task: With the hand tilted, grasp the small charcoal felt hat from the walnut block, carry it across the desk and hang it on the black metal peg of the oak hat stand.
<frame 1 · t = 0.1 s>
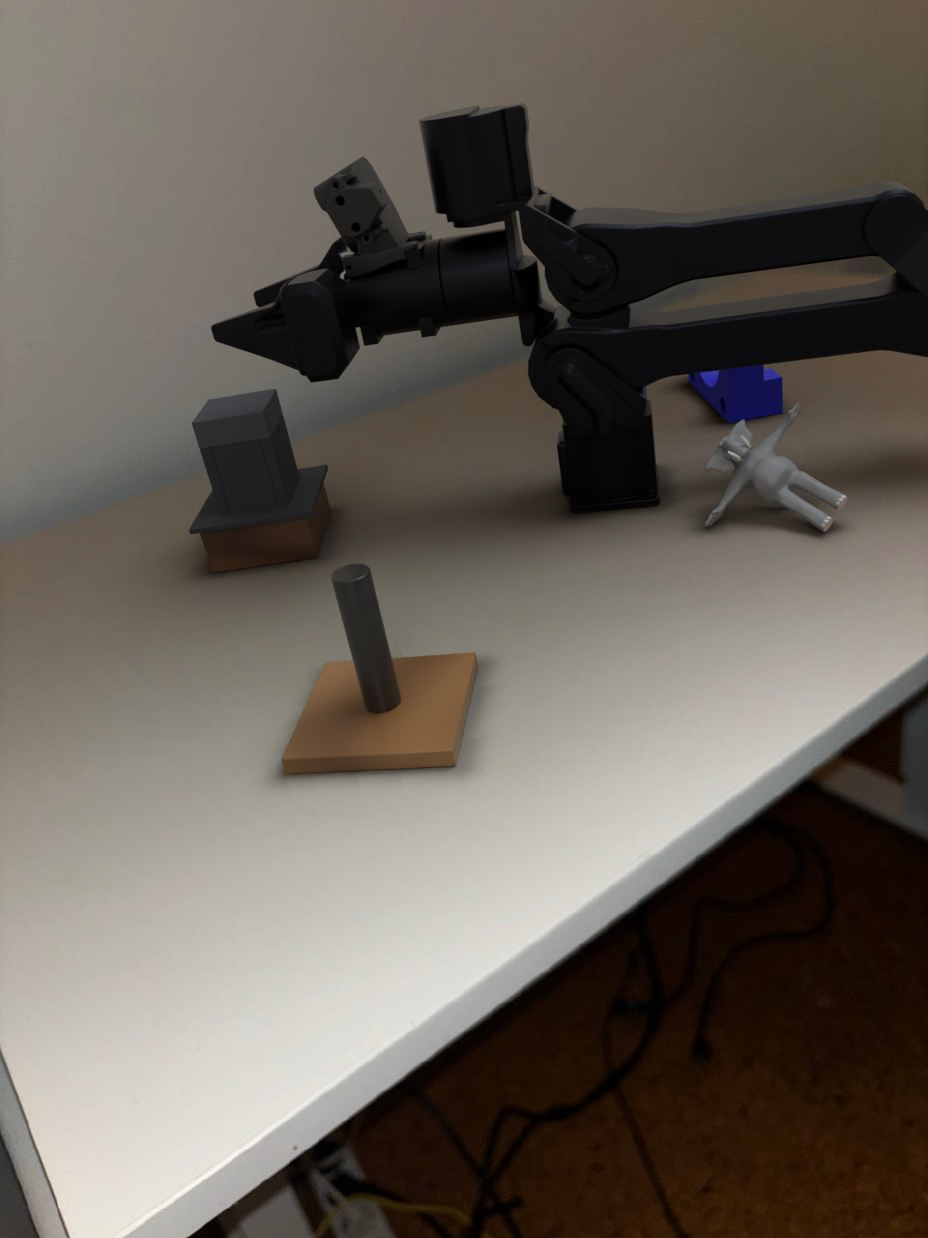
hand: (235, 314, 73), 17 cm above the table, tool horizontal, fingers open, 9 cm apart
elephant figurine: (779, 515, 69), on the table
hat: (262, 500, 77), point 3 cm above the table, touching hat block
hat block: (274, 541, 79), on the table
hat stand: (387, 717, 56), on the table
blue cradle bracket: (733, 398, 90), on the table
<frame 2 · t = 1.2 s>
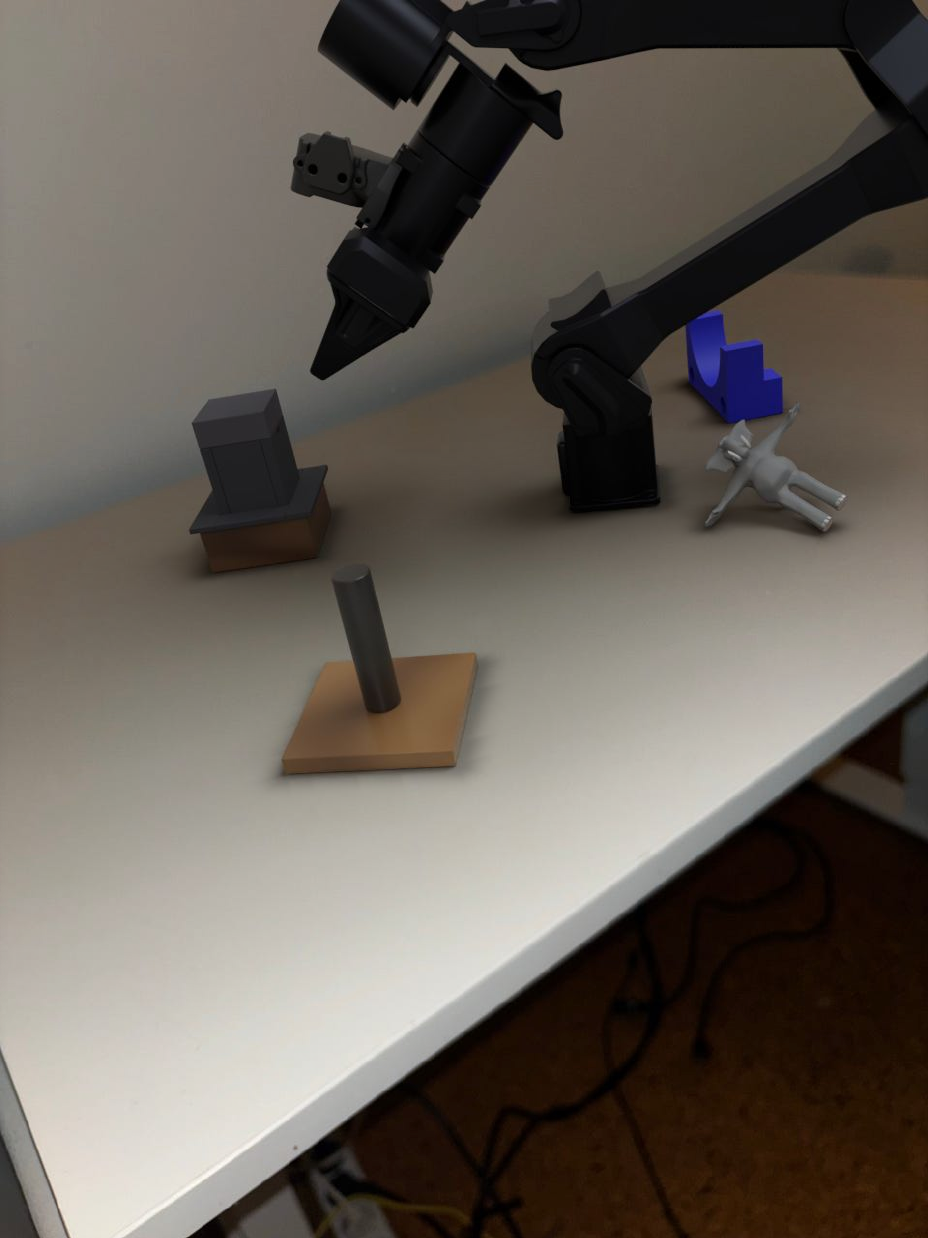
hand: (325, 356, 72), 13 cm above the table, tool tilted 45°, fingers open, 9 cm apart
nothing on the table moved.
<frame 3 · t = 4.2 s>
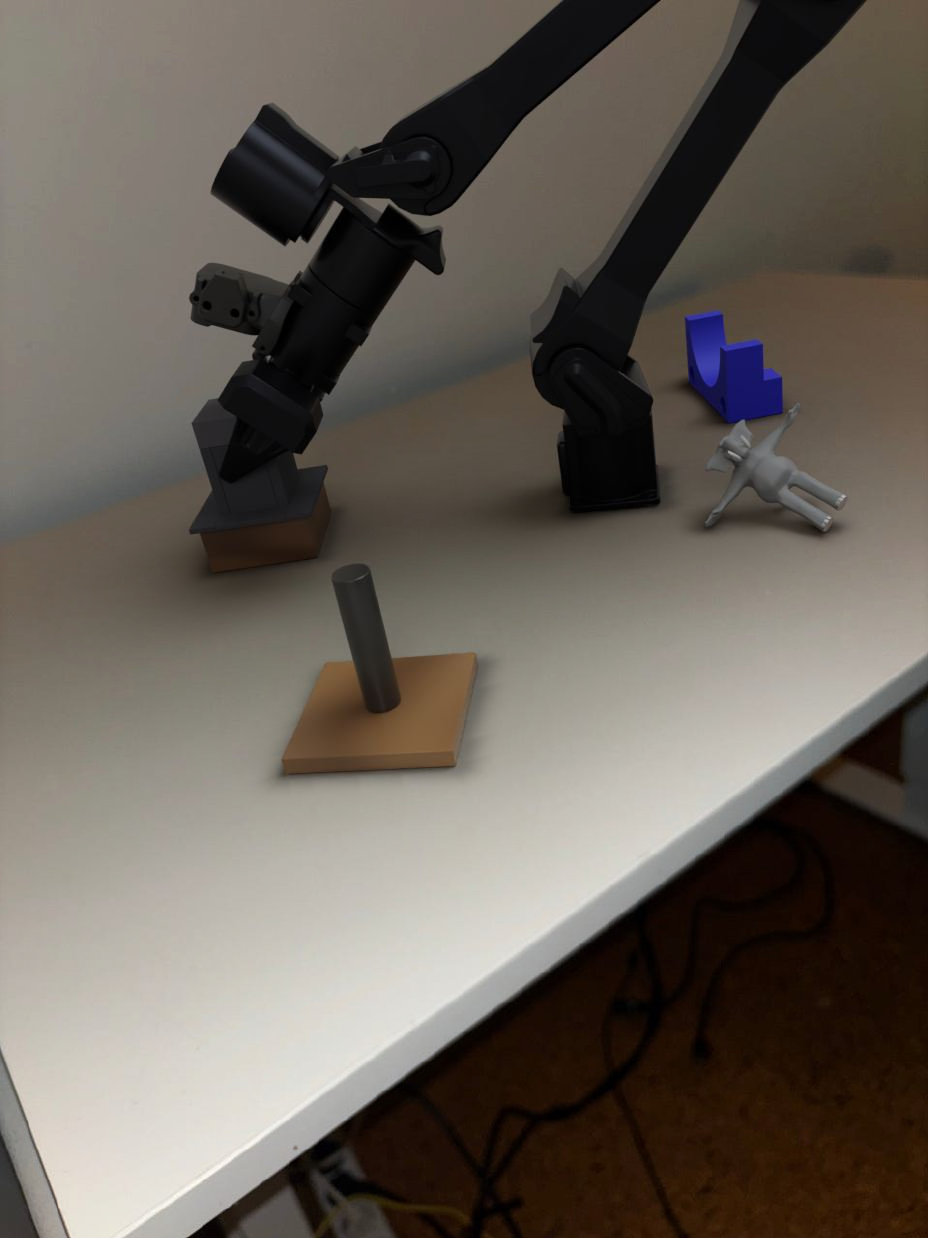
hand: (232, 464, 76), 7 cm above the table, tool tilted 45°, fingers closed on hat, 5 cm apart
hat: (262, 500, 77), point 4 cm above the table, touching gripper, hat block
everything else where it was.
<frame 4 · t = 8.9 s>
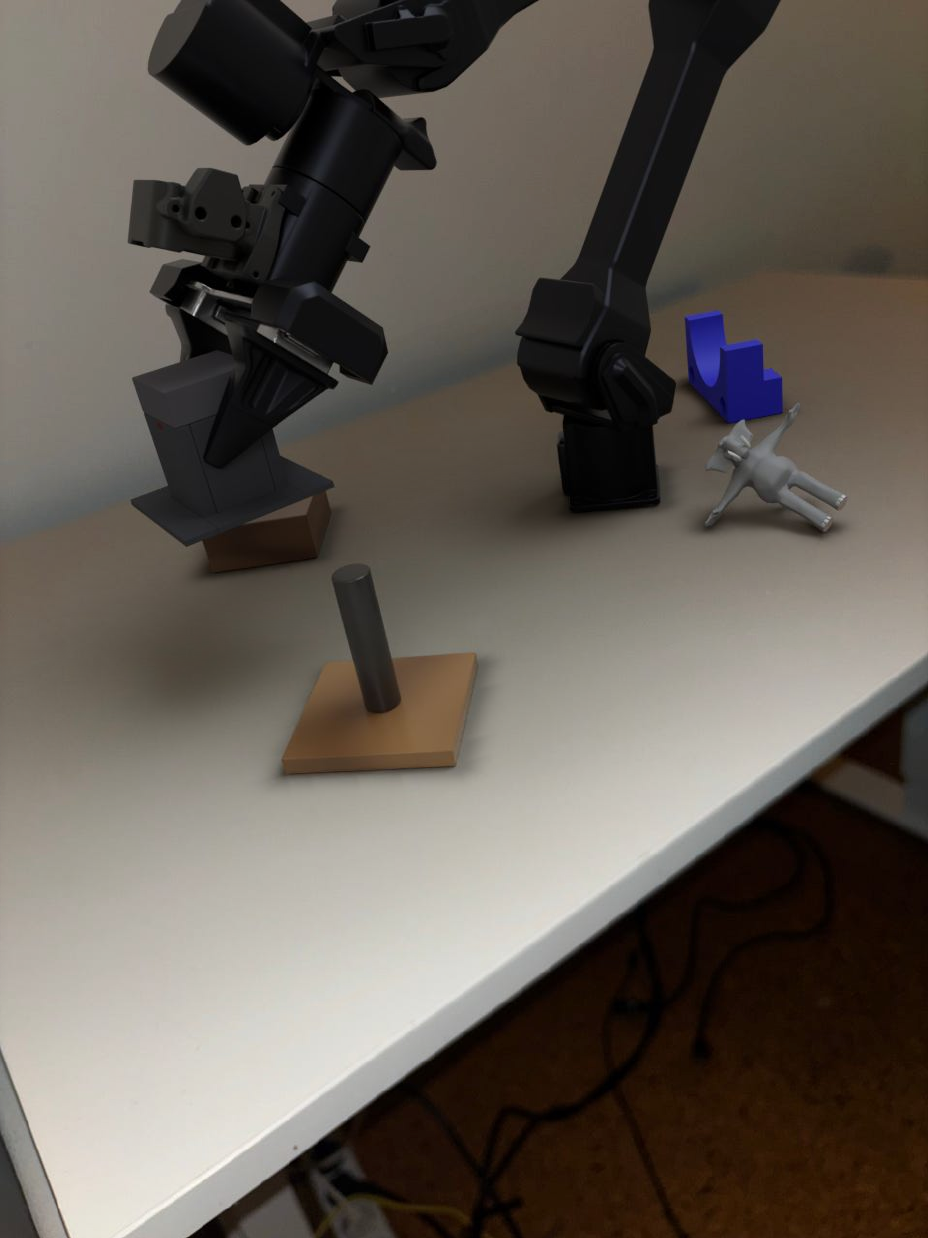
hand: (192, 454, 57), 14 cm above the table, tool tilted 45°, fingers closed on hat, 5 cm apart
hat: (230, 496, 59), point 11 cm above the table, touching gripper
everything else where it was.
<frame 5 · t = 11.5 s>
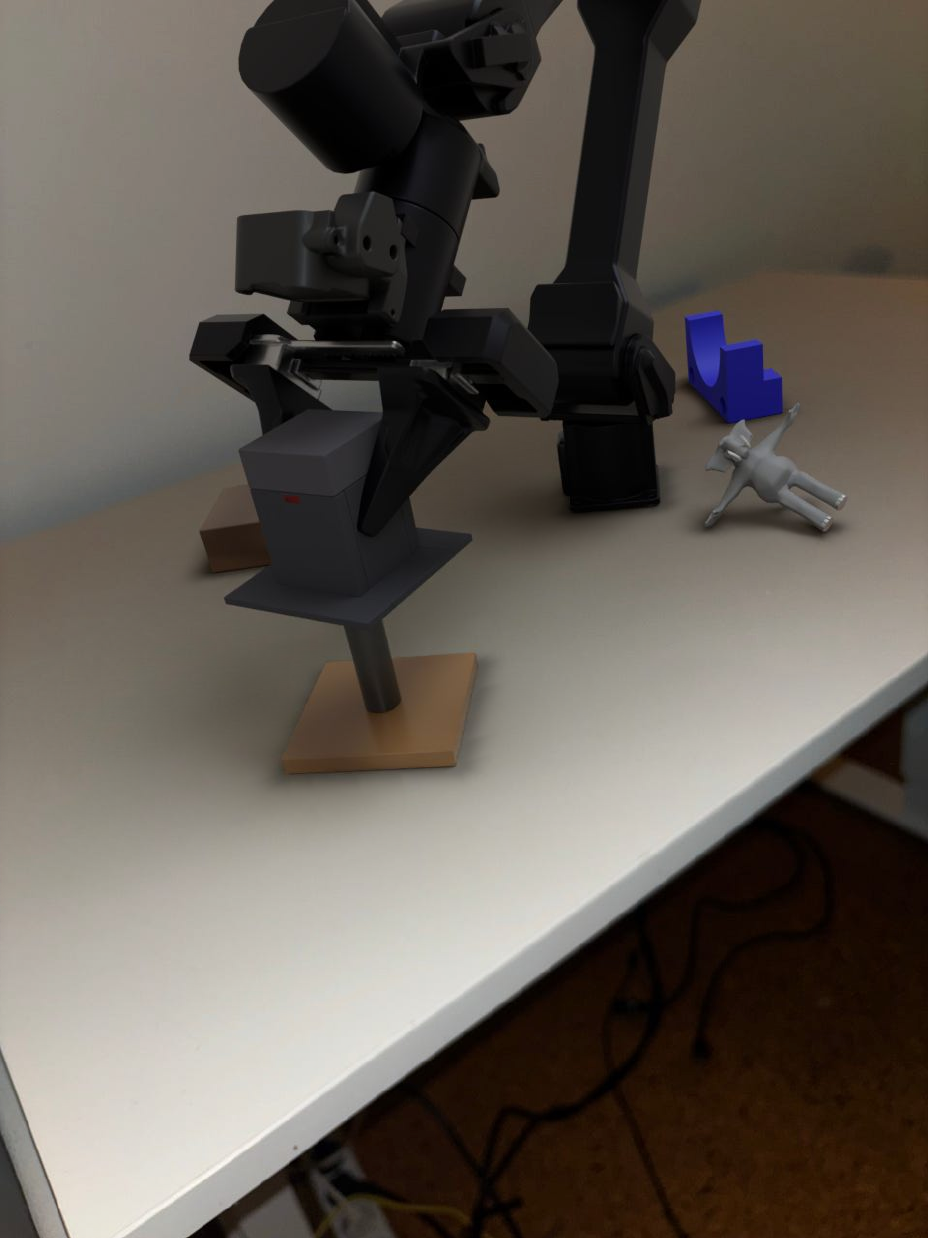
hand: (319, 528, 49), 12 cm above the table, tool tilted 45°, fingers closed on hat, 5 cm apart
hat: (351, 571, 51), point 9 cm above the table, touching gripper
everything else where it was.
when the fingers open (7 cm above the table, at t = 13.7 s): hat stays where it is, resting on hat stand.
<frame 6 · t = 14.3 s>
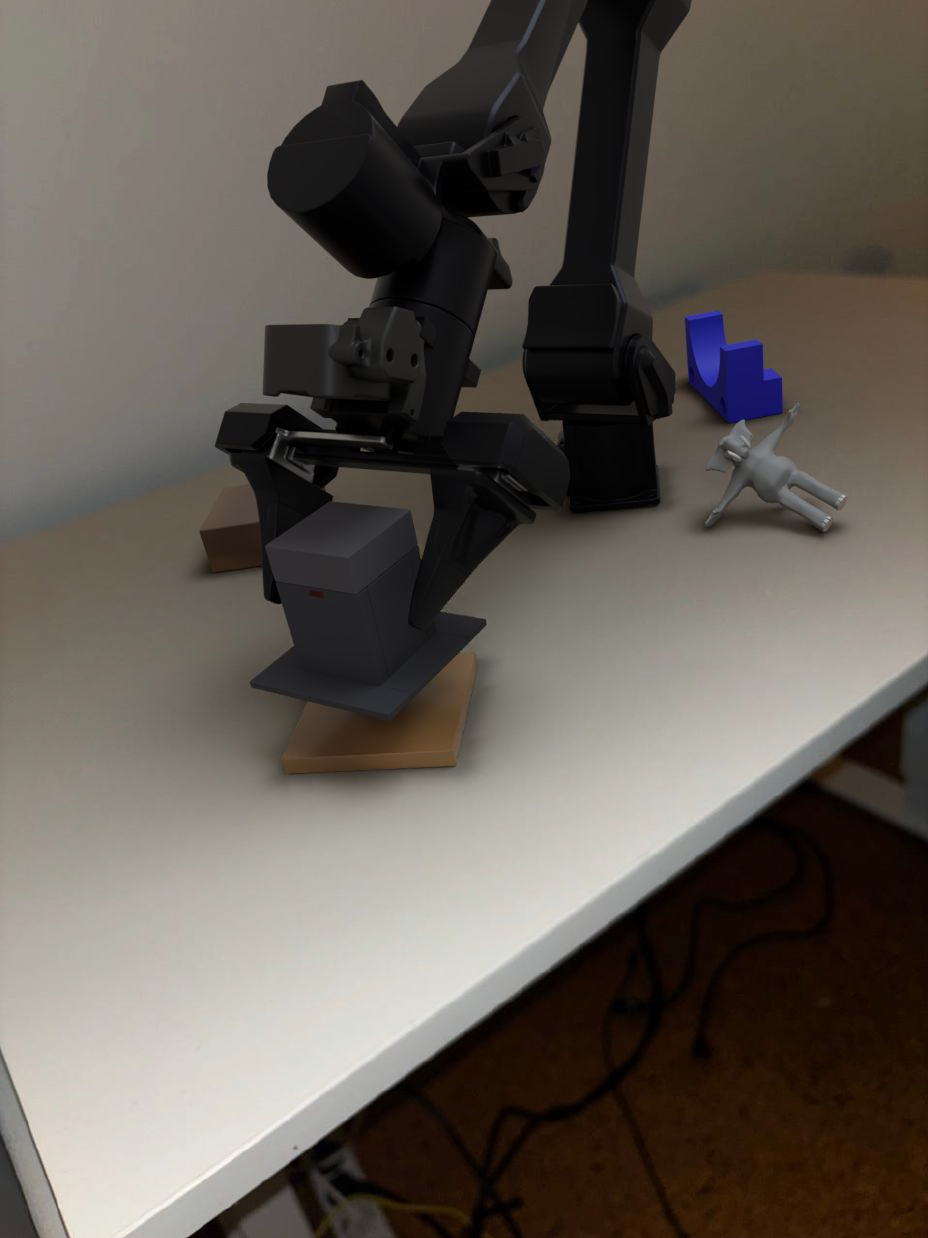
hand: (340, 614, 51), 7 cm above the table, tool tilted 45°, fingers open, 9 cm apart
hat: (370, 656, 54), point 4 cm above the table, touching hat stand
everything else where it was.
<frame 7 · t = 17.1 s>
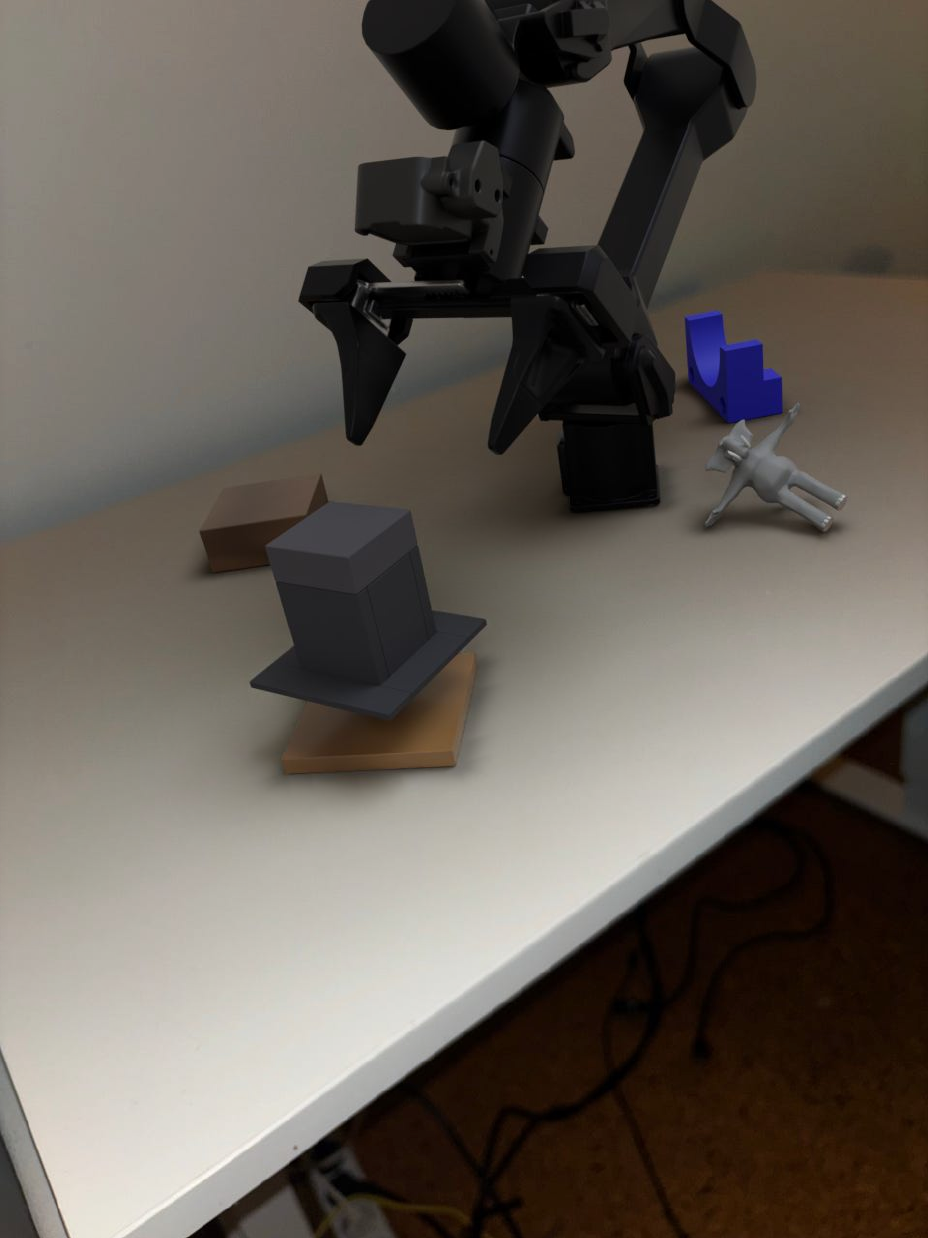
hand: (420, 447, 55), 13 cm above the table, tool tilted 45°, fingers open, 9 cm apart
nothing on the table moved.
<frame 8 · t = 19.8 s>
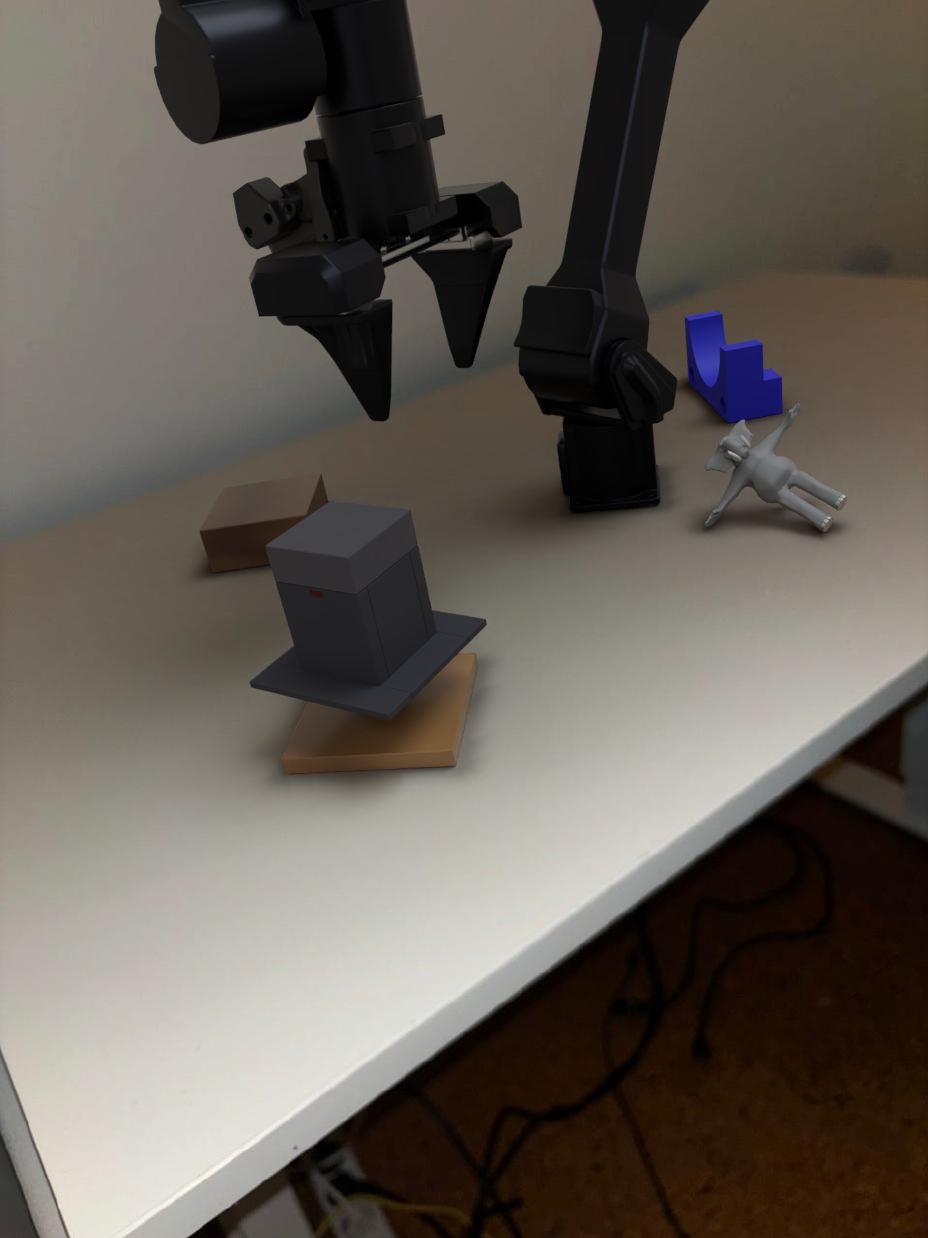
hand: (424, 392, 62), 13 cm above the table, tool pointing down, fingers open, 9 cm apart
nothing on the table moved.
at the end: hat 0.1 cm off-centre on the hat stand, point 4.0 cm above the hat stand's base; hat touching hat stand; the gripper is holding nothing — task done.
